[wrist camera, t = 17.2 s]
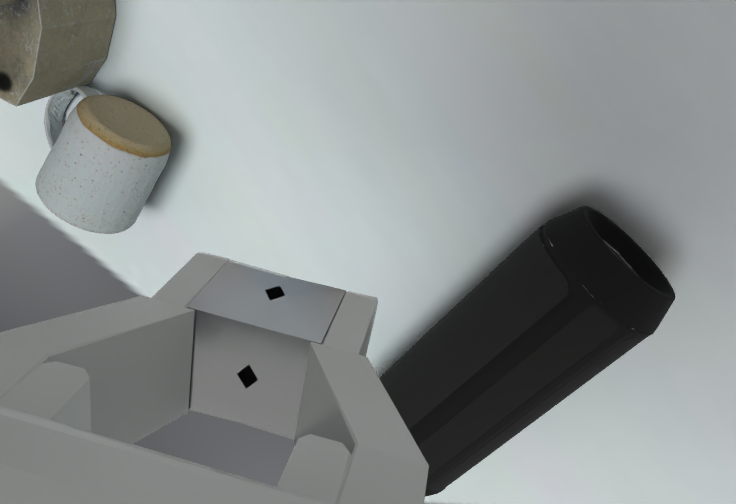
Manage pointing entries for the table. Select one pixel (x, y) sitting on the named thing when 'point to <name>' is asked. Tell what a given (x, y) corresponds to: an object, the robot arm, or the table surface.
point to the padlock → (51, 45)
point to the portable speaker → (526, 340)
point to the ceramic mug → (100, 160)
